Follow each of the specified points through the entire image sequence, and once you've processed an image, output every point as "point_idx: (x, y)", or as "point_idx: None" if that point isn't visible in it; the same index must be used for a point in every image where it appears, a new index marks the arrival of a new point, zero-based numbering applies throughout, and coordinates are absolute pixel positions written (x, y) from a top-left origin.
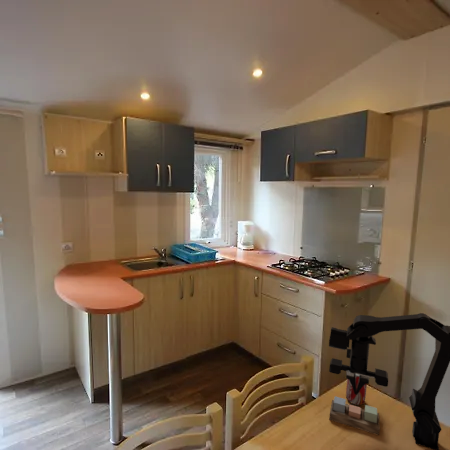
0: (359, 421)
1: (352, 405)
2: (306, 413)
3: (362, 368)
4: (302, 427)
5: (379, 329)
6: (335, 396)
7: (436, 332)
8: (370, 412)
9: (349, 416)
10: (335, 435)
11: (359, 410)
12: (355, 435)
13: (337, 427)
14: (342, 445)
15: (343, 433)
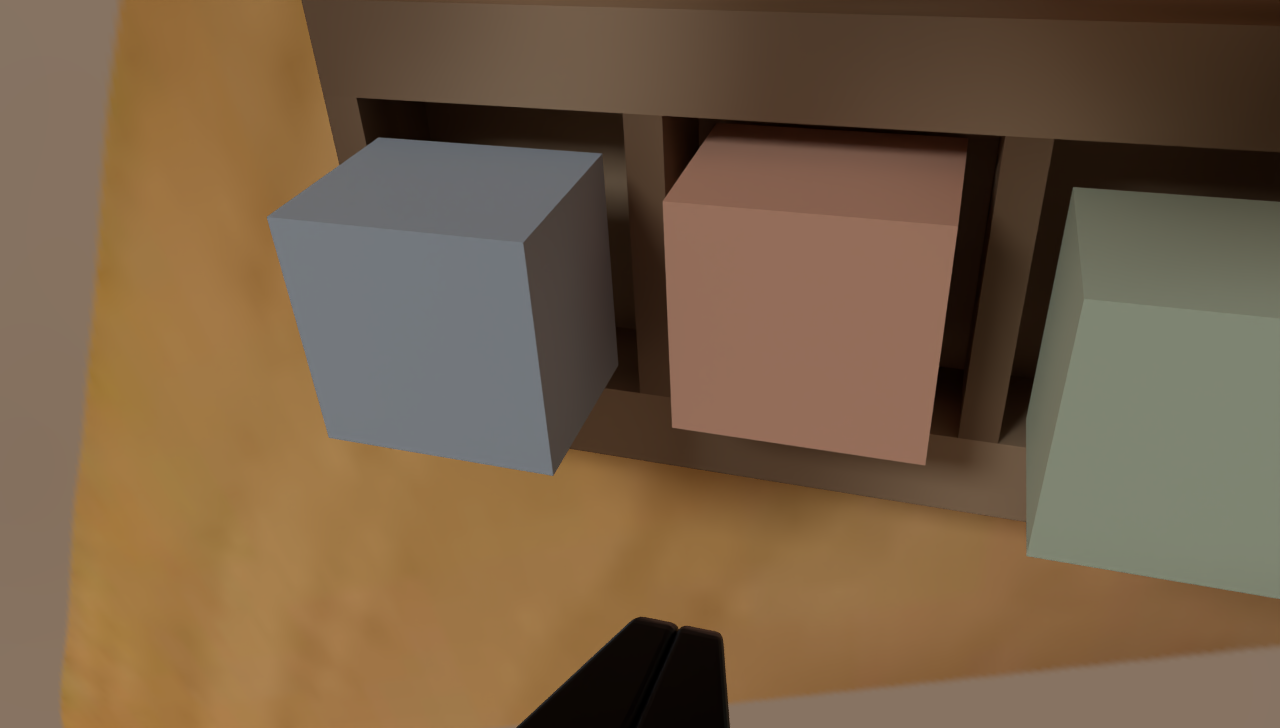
0: (911, 488)
1: (739, 215)
2: (163, 329)
3: None
4: (248, 558)
5: None
6: (283, 223)
7: None
8: (1177, 562)
9: None
10: (598, 595)
11: (912, 345)
12: (858, 548)
13: (596, 467)
14: None
15: (689, 548)
